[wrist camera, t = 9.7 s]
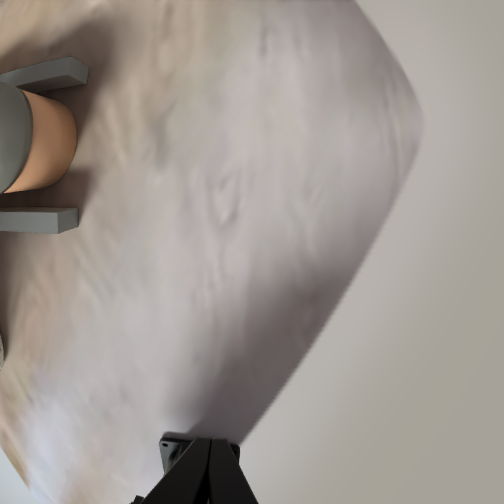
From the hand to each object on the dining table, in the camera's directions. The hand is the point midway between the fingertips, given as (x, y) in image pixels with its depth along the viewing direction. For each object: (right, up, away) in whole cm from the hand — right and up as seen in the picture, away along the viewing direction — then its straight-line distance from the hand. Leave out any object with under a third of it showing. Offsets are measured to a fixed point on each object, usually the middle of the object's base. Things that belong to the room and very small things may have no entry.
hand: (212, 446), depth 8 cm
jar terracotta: (-13, +13, +9) cm, 20 cm away
